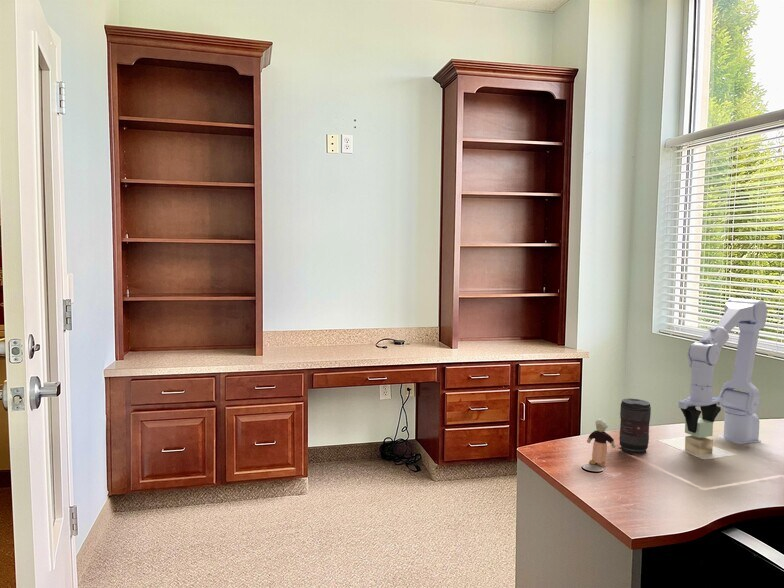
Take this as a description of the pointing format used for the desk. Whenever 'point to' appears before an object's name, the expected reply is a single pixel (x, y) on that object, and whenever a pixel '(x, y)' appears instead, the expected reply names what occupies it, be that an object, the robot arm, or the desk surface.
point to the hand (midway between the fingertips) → (699, 430)
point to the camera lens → (634, 426)
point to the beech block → (698, 445)
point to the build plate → (680, 445)
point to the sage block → (701, 428)
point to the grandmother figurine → (600, 443)
